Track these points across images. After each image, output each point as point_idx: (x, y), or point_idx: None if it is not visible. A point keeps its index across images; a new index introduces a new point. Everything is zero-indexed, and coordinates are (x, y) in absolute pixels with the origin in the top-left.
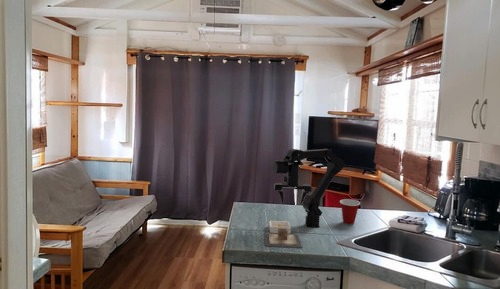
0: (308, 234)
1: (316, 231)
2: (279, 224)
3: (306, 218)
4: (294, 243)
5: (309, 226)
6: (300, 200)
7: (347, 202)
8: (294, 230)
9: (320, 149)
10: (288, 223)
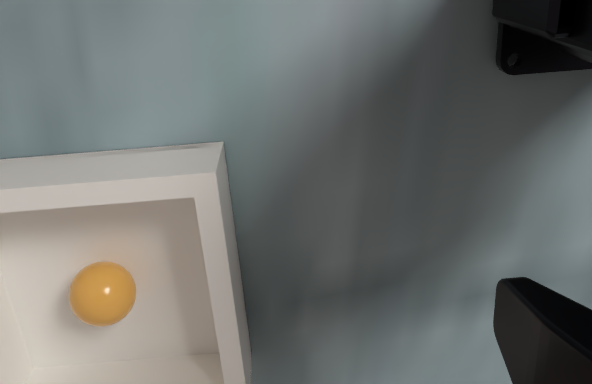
0: (447, 338)
1: (571, 223)
2: (89, 318)
3: (540, 34)
4: None
5: (529, 72)
6: (557, 367)
7: None
8: (299, 246)
9: None
10: (211, 266)
